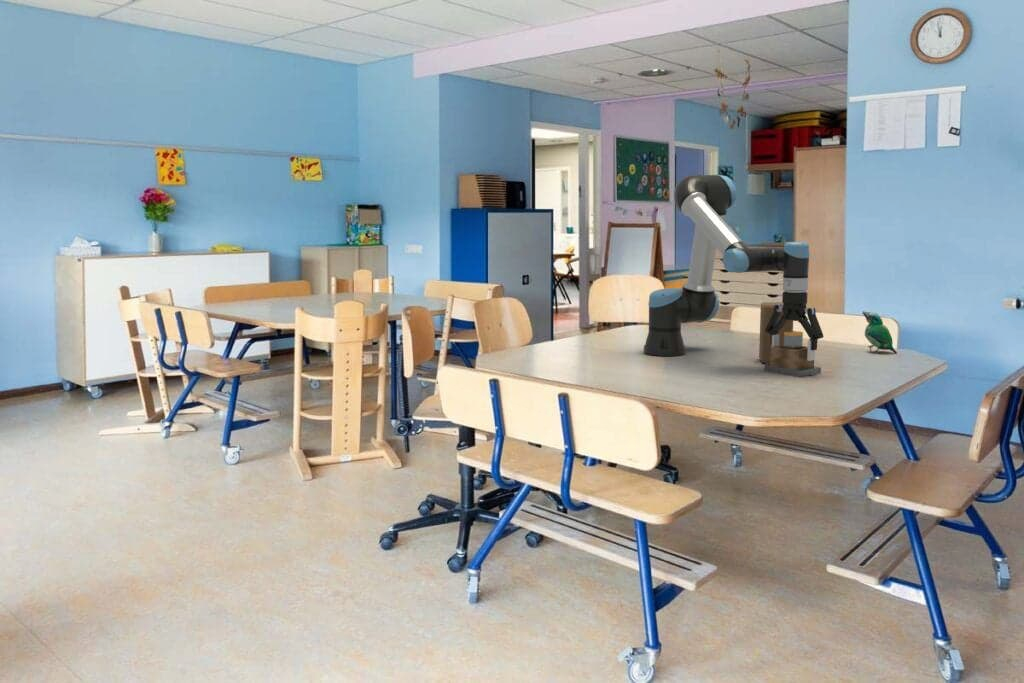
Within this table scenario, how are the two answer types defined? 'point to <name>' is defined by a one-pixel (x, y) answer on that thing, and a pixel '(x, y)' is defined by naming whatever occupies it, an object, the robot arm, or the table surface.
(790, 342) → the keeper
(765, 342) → the block
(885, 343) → the toy
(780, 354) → the wooden cube shelf
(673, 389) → the table surface
